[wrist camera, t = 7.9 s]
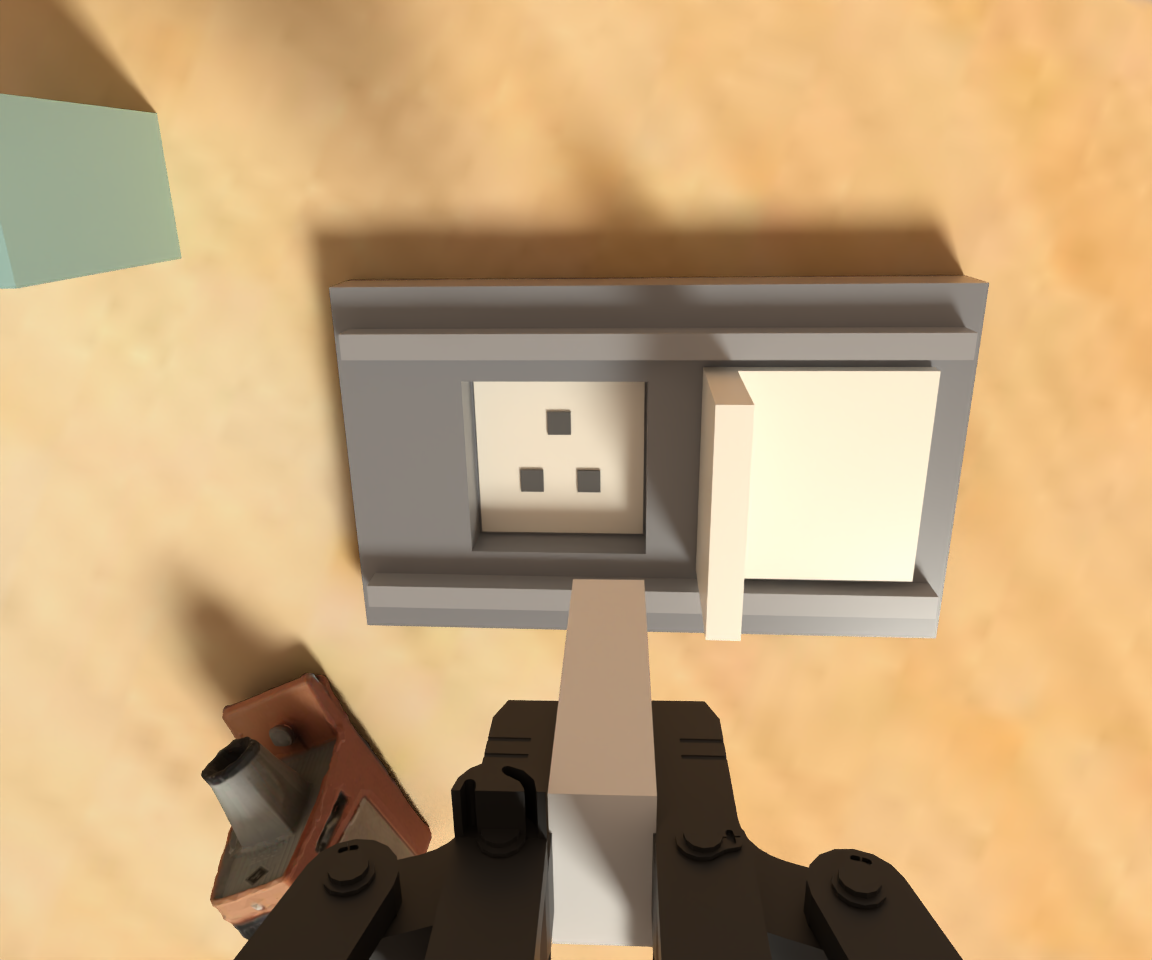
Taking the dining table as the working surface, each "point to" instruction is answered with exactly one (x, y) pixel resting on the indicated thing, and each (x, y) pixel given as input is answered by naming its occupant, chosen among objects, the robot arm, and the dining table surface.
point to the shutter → (808, 478)
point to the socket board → (612, 438)
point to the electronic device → (297, 796)
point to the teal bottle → (80, 191)
